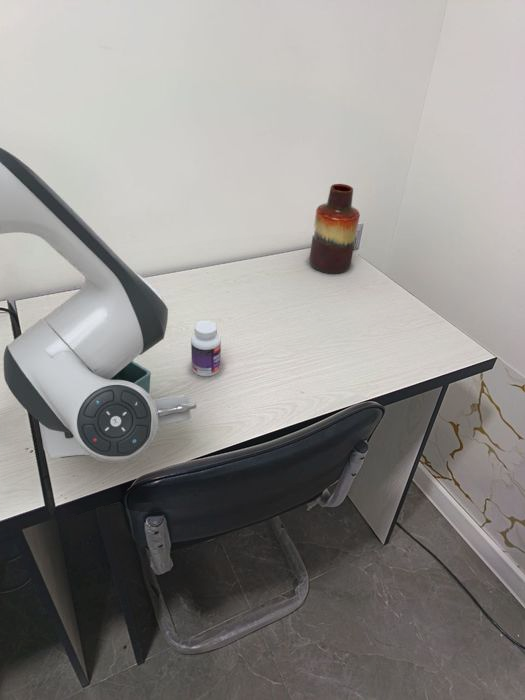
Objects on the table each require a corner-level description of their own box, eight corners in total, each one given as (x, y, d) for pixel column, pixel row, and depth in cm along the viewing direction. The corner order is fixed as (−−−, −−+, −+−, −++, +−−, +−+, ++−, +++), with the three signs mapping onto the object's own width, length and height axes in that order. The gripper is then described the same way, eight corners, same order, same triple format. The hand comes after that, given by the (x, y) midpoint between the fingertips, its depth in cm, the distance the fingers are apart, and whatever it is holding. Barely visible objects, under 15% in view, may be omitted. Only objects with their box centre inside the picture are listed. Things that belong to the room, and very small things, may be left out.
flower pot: (156, 411, 84) (152, 371, 79) (116, 442, 79) (108, 401, 73) (121, 389, 88) (115, 349, 83) (80, 416, 82) (70, 376, 77)
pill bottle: (219, 378, 92) (219, 336, 86) (190, 376, 92) (188, 334, 86) (221, 359, 96) (222, 318, 90) (193, 358, 96) (192, 317, 90)
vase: (336, 251, 136) (348, 177, 123) (358, 270, 128) (373, 193, 116) (301, 257, 132) (311, 181, 119) (322, 277, 124) (334, 198, 112)
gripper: (195, 381, 66) (183, 387, 79) (28, 410, 60) (45, 411, 73) (203, 428, 65) (190, 426, 78) (35, 462, 59) (52, 453, 72)
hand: (119, 419), depth 76 cm, fingers closed
